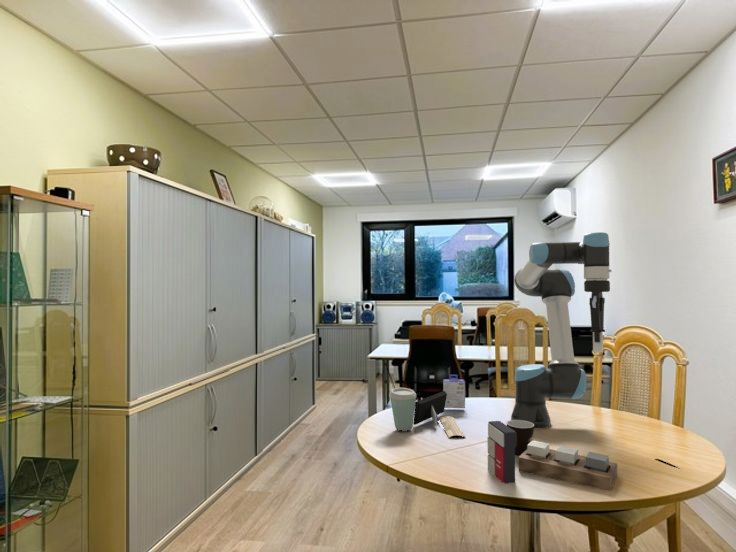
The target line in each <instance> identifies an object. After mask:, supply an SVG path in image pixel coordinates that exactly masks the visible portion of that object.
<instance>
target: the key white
mask: <svg viewBox="0 0 736 552" xmlns="http://www.w3.org/2000/svg"><path fill="white" fill-rule="evenodd" d="M549 449H550V443H547V442H542V441H537V440H532V441H531V442H530V443H529V444H528V445H527V453H528V454H531V455H532V456H533V457H538V458H542V459H546V455H547V454H548V453H549V452H550V450H549Z"/></svg>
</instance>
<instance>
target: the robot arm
mask: <svg viewBox="0 0 736 552" xmlns="http://www.w3.org/2000/svg"><path fill="white" fill-rule="evenodd" d="M609 236H610V235H609V234H608V233H606V232H604V231H603V232H598V231H597V232H587V233H585V234H584V235H583V240H582V241H573V242H572V241H567V242H565V241H564V242H559V241H557V242H544V241H541V242H534V243H532V244H531V245H530V246H529V250H528V251H529V252H528V257H529V260H528V261H527V263H526V264H525V265H524V266H523V267H521V268H520V269H519V270H517V272H516V273H515V275H514V282H513V283H514V285H515V287H516V288H517V290H518V291H519V292H520V293H522V294H524V295H526V296H529V297H538V298H539V297H540V298H541V302H542V303H543V304H545V306H546V315H547V316H546V317H547V318H546V319H547V327H548V328H547V329H548V336H549V338H548V339H549V346H550V356H551V357H550V358H551V361H550V362H549V363H548V365H547V366H548V368H546V365H544V364H541V363H538V364H537V363H536V364H535V363H532V364H523V365H521V366H518V367H516V368H515V372H514V385H515V386H514V389H515V390H514V391H515V392H514V393H515V397H514V398H515V401H514V402H515V404H514V406H513V410H512V411H511V416H510V420H523V421H528V422H531V423H533V424H534V429H546V428H549V427H550V426H551V425H552V422H551V421H552V419H551V416H550V414H549V410H548V408H547V405H546V404H547V403H546V400H547V399H569V400H571V399H580V398H582V397H583V396H584V394H585V392H586V388H587V375H586V371H585V370H584V369H583V368H580V364H579V363H578V362H577V361H576V360H575V354H574V347H573V337H572V336H573V335H572V328H571V319H570V310H569V302H571V300H572V297H574V295H575V292H576V289H575V288H576V284H575V279H574V276H573V275H572V273H571V272H570V271H569V270H567V269H560V268H556V269H550V267H551V266H552V265H560V264H561V265H562V264H567V265H568V264H578V265H583V279H584V282H583V284H584V285H583V288H584V289H583V291H584V292H585V293H591V296H590V297H589V303H588V304H589V311H590V325H591V327H590V330H589V332H590V333H592V351H593V353H600V354H601V353H604V337H603V336H604V333H606V330H605V329H604V328H605V326H604V324H605V323H604V321H605V319H604V318H605V317H604V316H605V303H606V299H605V297H604V296H603V293H608V292H610V291H611V282H610V280H608V279H610V277H611V276H610V273H612V269H610V245H611V244H610V237H609Z"/></svg>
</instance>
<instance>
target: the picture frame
mask: <svg viewBox="0 0 736 552" xmlns="http://www.w3.org/2000/svg"><path fill="white" fill-rule="evenodd" d="M446 397H447V393H446V392H445V391H443V390H442V391H441V392H438V393H436V394H433V395H430V396H428V397H425V398H422V399H419V400H416V402H415V410H414V419H413V425H414V426H416V425H418V424H421V423H422V422H425V421H427V420H429V419H432V421H433V423H434V426H435V427H438V422H437V420H438V415H441V414H443V413H444V412H445V409H446V408H445V403H446Z"/></svg>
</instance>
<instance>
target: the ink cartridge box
mask: <svg viewBox="0 0 736 552" xmlns="http://www.w3.org/2000/svg"><path fill="white" fill-rule="evenodd" d="M442 385H443V386H442V387H443V389H442V392H443V391H445V392H446V393H447V397H446V403H445V408H444V409H466V381H465V379H459V376H458V374H449V378H447V379H443V380H442Z"/></svg>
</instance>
